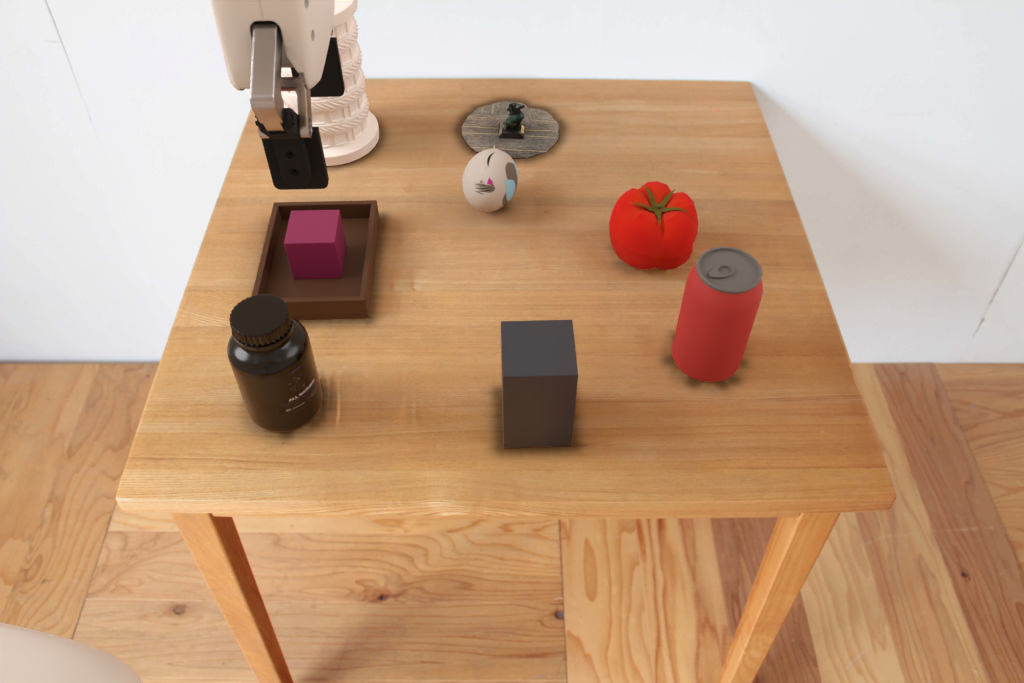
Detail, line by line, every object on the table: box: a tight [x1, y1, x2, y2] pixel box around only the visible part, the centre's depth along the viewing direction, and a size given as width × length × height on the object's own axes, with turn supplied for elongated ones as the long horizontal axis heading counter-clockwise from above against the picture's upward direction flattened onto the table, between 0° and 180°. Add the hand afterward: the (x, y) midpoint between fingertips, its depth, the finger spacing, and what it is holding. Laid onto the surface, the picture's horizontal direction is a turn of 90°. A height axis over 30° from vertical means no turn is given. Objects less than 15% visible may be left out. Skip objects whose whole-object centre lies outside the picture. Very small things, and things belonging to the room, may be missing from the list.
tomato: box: [608, 180, 699, 271], centre depth 88 cm, size 9×9×8 cm
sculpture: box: [461, 100, 560, 159], centre depth 106 cm, size 12×9×8 cm
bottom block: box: [500, 319, 579, 449], centre depth 73 cm, size 6×6×10 cm
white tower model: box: [281, 0, 380, 167], centre depth 98 cm, size 12×12×18 cm
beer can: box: [671, 246, 764, 383], centre depth 77 cm, size 7×7×12 cm
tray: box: [251, 199, 380, 321], centre depth 89 cm, size 15×11×3 cm
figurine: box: [461, 145, 519, 213], centre depth 94 cm, size 8×6×7 cm
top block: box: [284, 210, 347, 279], centre depth 87 cm, size 5×5×5 cm
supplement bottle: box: [226, 294, 324, 433], centre depth 73 cm, size 7×7×12 cm
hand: (312, 137), depth 54 cm, fingers open, 9 cm apart
